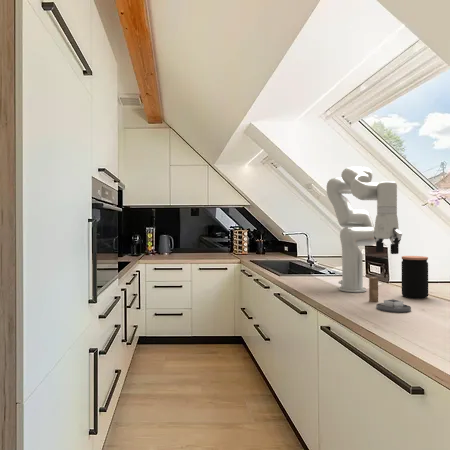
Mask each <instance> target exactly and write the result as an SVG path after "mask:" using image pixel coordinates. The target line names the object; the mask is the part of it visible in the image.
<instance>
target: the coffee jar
mask: <svg viewBox="0 0 450 450" xmlns="http://www.w3.org/2000/svg"><path fill="white" fill-rule="evenodd" d="M428 260H429V257H428V256H422V255H421V256H420V255H402V256H401V295H402V296H403V297H404V298H406V299H413V300H414V299H415V300H424V299H427V298H428V297H429V262H428Z"/></svg>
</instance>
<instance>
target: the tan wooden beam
mask: <svg viewBox="0 0 450 450" xmlns="http://www.w3.org/2000/svg"><path fill="white" fill-rule="evenodd" d="M368 294H369V295H368V297H369V300H368V301H369V302H372V303H379V277H373V276H372V277H368Z"/></svg>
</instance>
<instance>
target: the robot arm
mask: <svg viewBox="0 0 450 450" xmlns="http://www.w3.org/2000/svg"><path fill="white" fill-rule="evenodd" d="M372 180H373V172H372V170H371V169H370V168H369V167H366V166H363V167H362V166H350V167H346V168H344V169H343V170H342V172H341V177H333V178H331V179H329V180H328V181H327V182H326V195H327V198H328V200H329V201H330V203H331V205H332V206H333V207H332V208H333V210H334V213H335V217H336V218H337V221H338V224H339V226H340V227H342V229H341V230H340V233H339V239H340V244H341V260H342V261H341V262H342V263H341V264H342V268H341V270H342V274H341V276H342V278H341V280H339V281H338V284H339V285H341V286H339V287H338V289H339V291H341V292H346V293H363V292H366V291H367V288H366V287H363V285H364V284H363V282H364V280H363V279H364V278H363V275H364V273H363V270H364V269H363V261H364V260H363V253H362V251H361V249H360V248H359V246H360V247H361V246H364V247H365V246H373V245H375V252H376V253H384V242H383V241H384V240H390V255H398V254H399V251H400V250H399V249H400V248H399V245H400V242H401V240H402V236H403V233H402V232H401V231H400V230H399V219H398V208H397V207H398V184H397V183H396V181H391V180H390V181H388V180H387V181H386V180H385V181H380V182H372ZM343 194H345V195H346V194H348V195H350V194H351V195H353V197H355V198H356V199H358V200H360V201H376V217H375V220H374V221H375V222H374V223H373V220H372V219H373V218H372V217H371V215H370V213H369V212H368V211H367V210H366V209H362V208H359V209H358V208H353V207H352V205H351V202H350V200H349V199H348V198H347V197H346V196H344V195H343Z"/></svg>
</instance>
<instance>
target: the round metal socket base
mask: <svg viewBox="0 0 450 450" xmlns="http://www.w3.org/2000/svg"><path fill="white" fill-rule="evenodd" d="M376 309H377V310H378V311H382V312H387V313H395V314H407V313H410V312H412V307H411V306H410V305H408V304H404V301H402V300H399V299H394V298H391V299H383V302H377V304H376Z"/></svg>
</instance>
